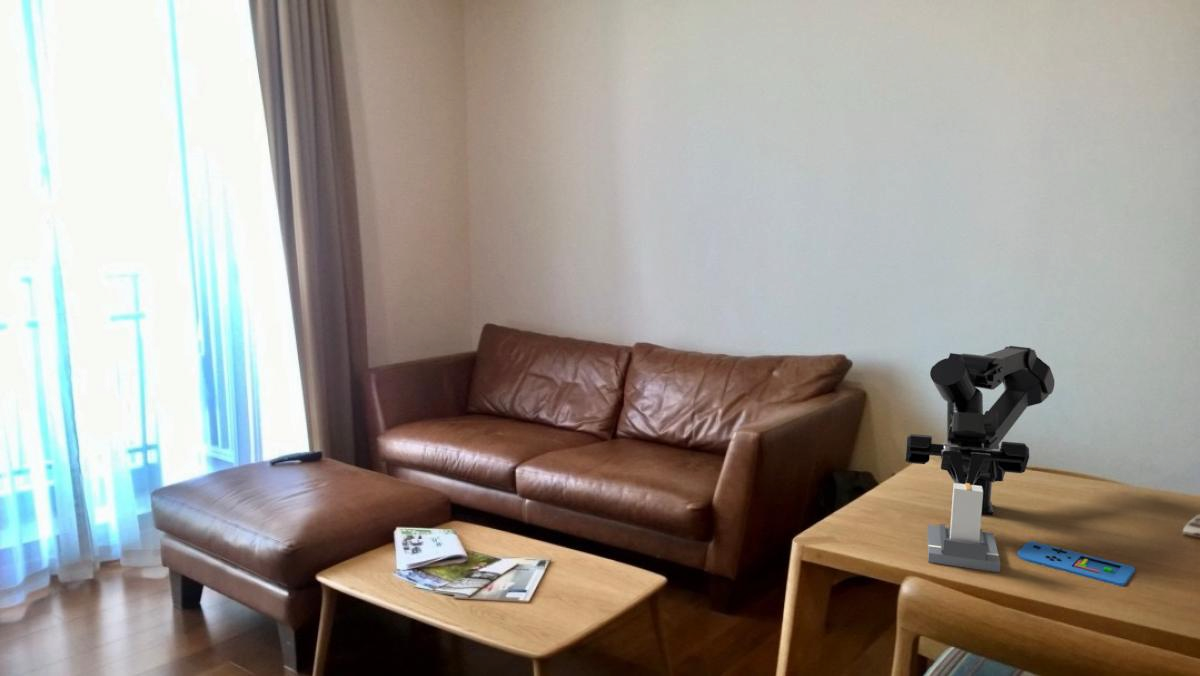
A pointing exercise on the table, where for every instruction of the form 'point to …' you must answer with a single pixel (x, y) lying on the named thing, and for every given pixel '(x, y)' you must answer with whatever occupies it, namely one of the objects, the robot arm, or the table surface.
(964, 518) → the grey upright block
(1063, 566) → the handheld gaming device
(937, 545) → the grey socket base
